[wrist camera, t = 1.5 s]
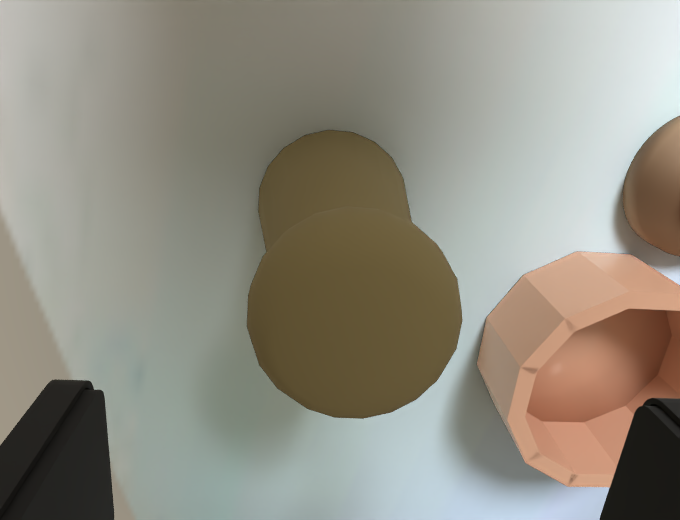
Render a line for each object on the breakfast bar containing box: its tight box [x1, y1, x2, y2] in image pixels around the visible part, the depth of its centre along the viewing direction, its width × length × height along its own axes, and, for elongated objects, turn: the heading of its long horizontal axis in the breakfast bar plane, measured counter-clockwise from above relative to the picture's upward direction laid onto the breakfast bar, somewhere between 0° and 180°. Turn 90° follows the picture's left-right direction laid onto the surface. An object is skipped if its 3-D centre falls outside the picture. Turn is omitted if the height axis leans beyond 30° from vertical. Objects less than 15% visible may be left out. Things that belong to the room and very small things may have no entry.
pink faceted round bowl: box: [477, 251, 680, 487], centre depth 23 cm, size 9×9×4 cm
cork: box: [247, 130, 462, 419], centre depth 17 cm, size 6×6×11 cm
